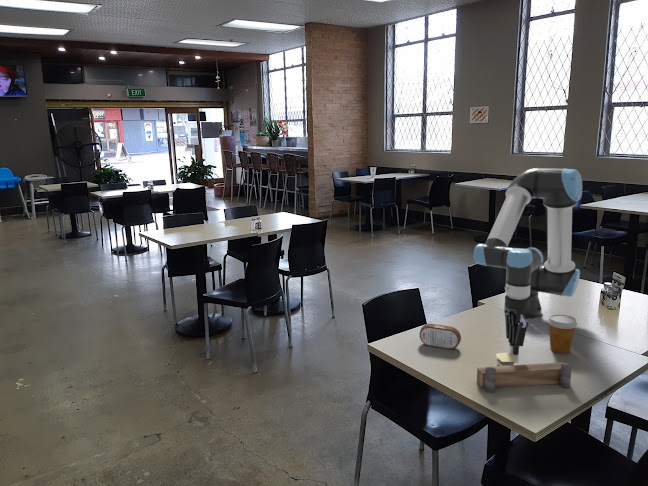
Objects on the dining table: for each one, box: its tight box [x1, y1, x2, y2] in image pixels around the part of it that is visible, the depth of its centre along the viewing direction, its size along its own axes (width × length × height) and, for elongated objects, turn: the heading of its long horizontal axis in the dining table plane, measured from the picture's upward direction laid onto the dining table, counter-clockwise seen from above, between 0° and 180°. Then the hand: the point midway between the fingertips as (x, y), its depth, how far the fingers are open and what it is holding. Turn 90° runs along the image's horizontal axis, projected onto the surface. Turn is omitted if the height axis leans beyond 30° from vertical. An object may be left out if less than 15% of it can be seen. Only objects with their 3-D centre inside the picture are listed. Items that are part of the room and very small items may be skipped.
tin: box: [418, 323, 462, 350], centre depth 183 cm, size 15×3×8 cm, turn 65°
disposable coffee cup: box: [547, 313, 578, 354], centre depth 177 cm, size 10×10×12 cm
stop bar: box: [476, 361, 573, 394], centre depth 154 cm, size 7×28×7 cm, turn 94°
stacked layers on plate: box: [494, 351, 515, 366], centre depth 163 cm, size 10×9×6 cm
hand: (513, 362), depth 167 cm, fingers closed
